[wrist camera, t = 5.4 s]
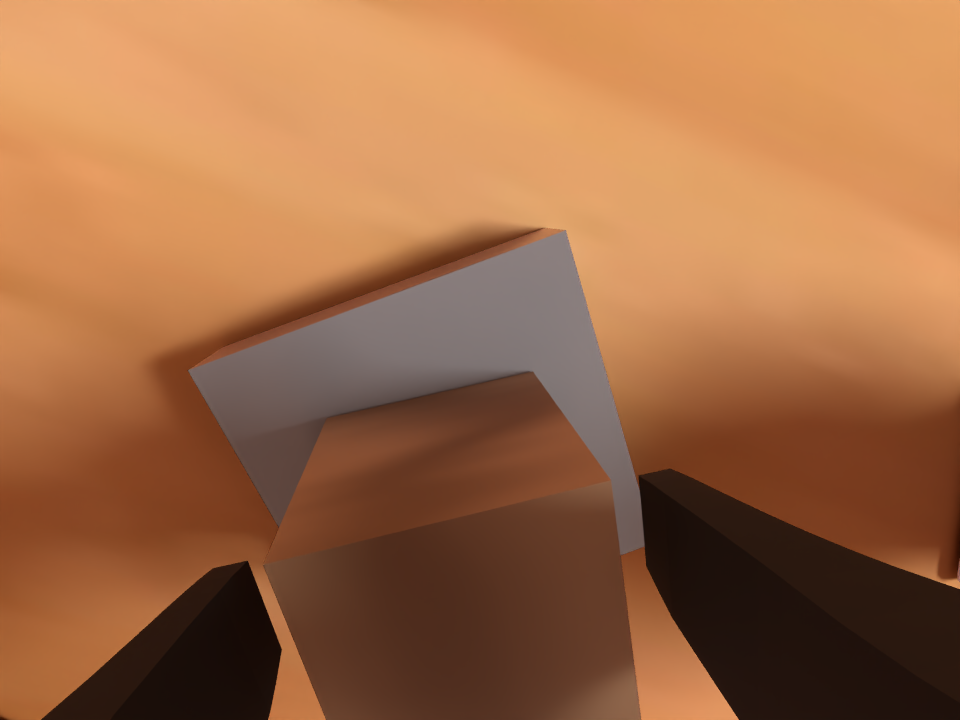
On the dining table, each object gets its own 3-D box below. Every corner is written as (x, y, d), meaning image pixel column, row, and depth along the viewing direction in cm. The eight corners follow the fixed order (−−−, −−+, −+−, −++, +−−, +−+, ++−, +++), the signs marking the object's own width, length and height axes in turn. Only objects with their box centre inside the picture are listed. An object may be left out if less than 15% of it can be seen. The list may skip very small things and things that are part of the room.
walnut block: (532, 371, 12) (611, 479, 7) (561, 541, 13) (641, 724, 9) (326, 418, 11) (262, 564, 7) (380, 586, 13) (359, 801, 8)
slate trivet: (540, 227, 13) (565, 230, 11) (620, 494, 16) (654, 542, 14) (229, 342, 13) (187, 370, 11) (363, 590, 16) (352, 656, 14)
